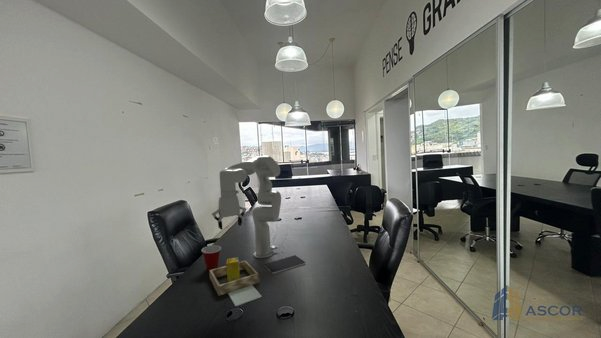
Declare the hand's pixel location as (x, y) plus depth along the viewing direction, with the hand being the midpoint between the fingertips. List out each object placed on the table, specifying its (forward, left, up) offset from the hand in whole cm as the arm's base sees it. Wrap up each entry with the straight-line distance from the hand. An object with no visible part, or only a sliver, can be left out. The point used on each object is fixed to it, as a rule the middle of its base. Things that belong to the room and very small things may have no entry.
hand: (230, 227), depth 125 cm
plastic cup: (+6, -22, -28) cm, 36 cm away
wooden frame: (0, 0, -28) cm, 28 cm away
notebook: (-30, 0, -29) cm, 42 cm away
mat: (0, +17, -28) cm, 33 cm away
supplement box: (0, 0, -28) cm, 28 cm away
